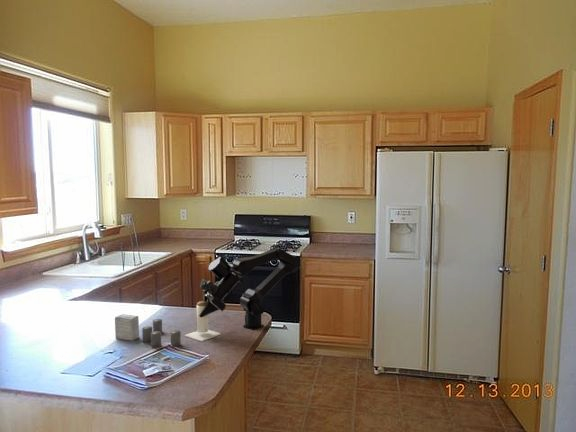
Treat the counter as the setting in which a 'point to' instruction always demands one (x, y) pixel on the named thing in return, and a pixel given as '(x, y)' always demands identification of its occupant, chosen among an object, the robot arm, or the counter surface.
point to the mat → (202, 335)
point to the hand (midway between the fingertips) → (199, 315)
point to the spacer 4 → (176, 338)
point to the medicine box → (126, 327)
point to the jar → (201, 318)
